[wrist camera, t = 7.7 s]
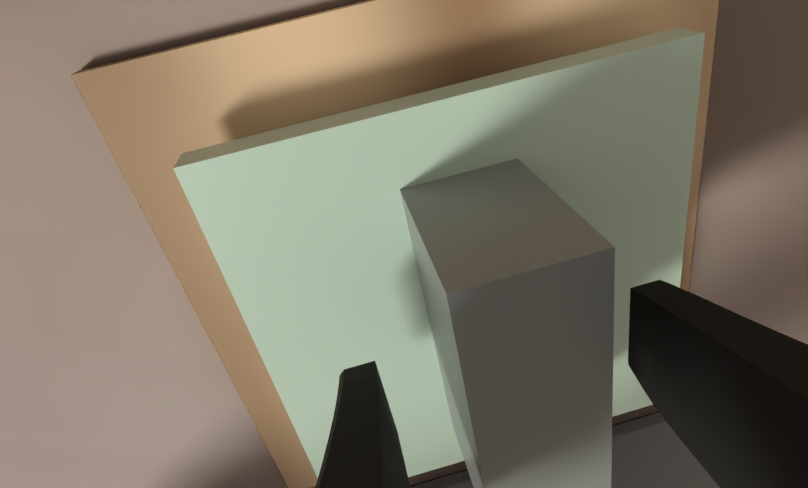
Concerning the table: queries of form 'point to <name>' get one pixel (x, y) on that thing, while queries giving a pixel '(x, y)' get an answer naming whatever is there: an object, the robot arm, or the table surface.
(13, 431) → the table surface
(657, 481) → the storage box
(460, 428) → the lid
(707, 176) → the table surface
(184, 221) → the cork mat
